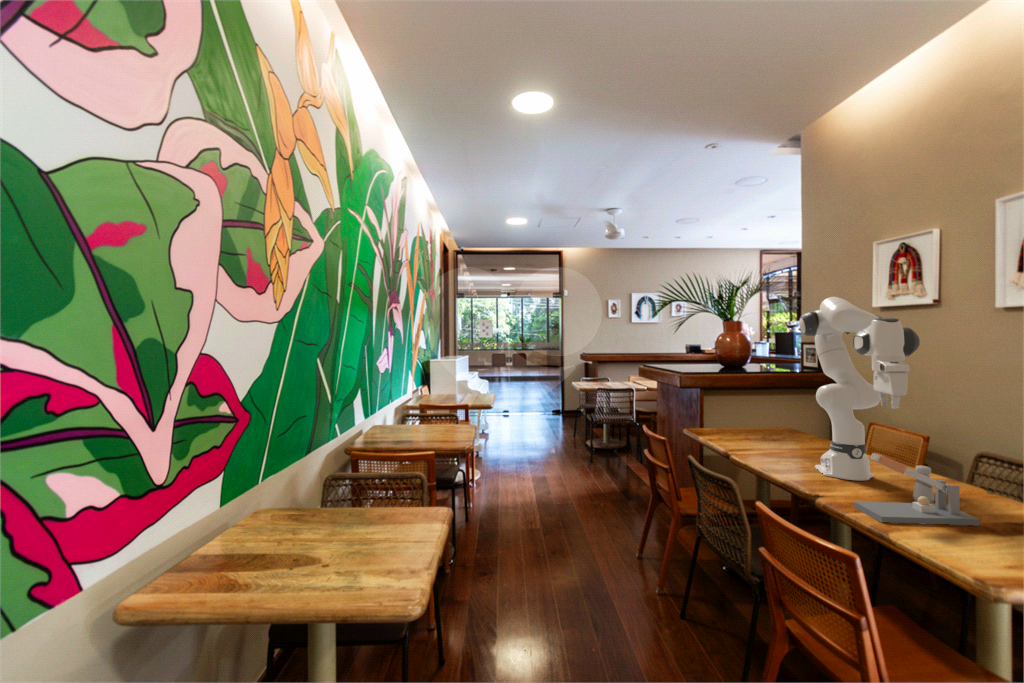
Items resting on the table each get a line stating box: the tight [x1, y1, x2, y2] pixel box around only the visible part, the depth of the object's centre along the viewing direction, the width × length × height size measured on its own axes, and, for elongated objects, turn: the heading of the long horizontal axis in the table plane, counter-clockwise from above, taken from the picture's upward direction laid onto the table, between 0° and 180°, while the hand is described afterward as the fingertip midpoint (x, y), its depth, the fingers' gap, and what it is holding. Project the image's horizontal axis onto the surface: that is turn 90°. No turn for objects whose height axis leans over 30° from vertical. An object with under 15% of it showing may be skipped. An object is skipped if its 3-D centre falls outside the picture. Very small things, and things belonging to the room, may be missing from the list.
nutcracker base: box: [853, 479, 981, 527], centre depth 154 cm, size 28×14×11 cm, turn 84°
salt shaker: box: [912, 465, 935, 504], centre depth 166 cm, size 6×6×13 cm
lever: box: [869, 452, 949, 495], centre depth 154 cm, size 26×4×4 cm, turn 84°
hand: (889, 407), depth 158 cm, fingers open, 8 cm apart
